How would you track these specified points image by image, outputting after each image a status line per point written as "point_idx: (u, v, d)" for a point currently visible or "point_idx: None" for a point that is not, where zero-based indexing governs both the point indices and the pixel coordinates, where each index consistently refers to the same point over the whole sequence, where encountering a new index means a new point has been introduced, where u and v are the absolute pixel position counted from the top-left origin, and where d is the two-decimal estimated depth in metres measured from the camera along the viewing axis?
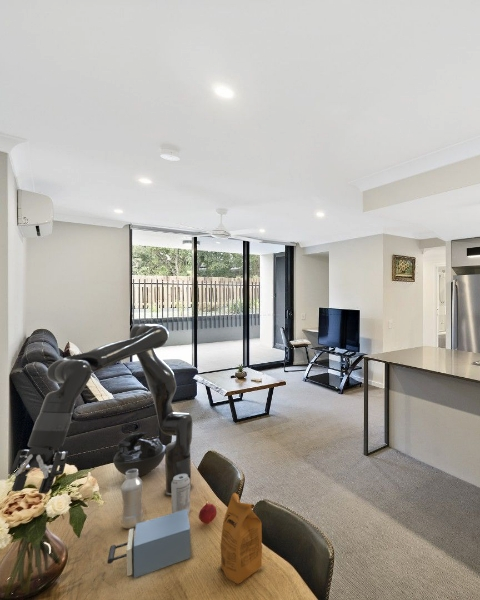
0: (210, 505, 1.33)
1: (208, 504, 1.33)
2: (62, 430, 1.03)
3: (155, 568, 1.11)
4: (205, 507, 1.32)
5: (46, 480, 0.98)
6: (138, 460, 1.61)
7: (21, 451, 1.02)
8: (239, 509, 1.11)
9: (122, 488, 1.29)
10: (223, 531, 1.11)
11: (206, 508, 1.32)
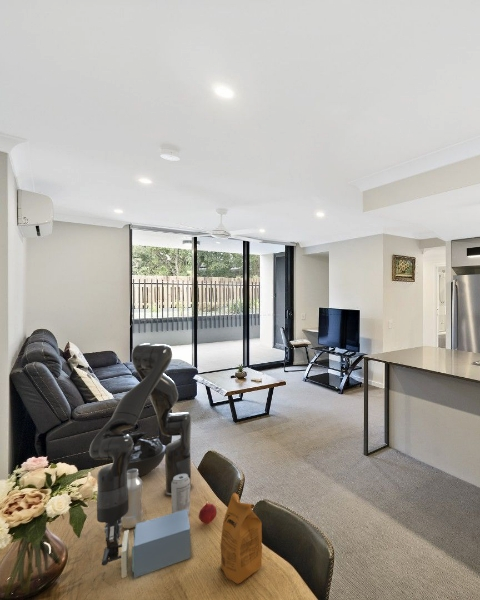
0: (210, 505, 1.33)
1: (208, 504, 1.33)
2: (112, 507, 1.07)
3: (155, 568, 1.11)
4: (205, 507, 1.32)
5: (110, 549, 1.09)
6: (138, 460, 1.61)
7: None
8: (239, 509, 1.11)
9: None
10: (223, 531, 1.11)
11: (206, 508, 1.32)
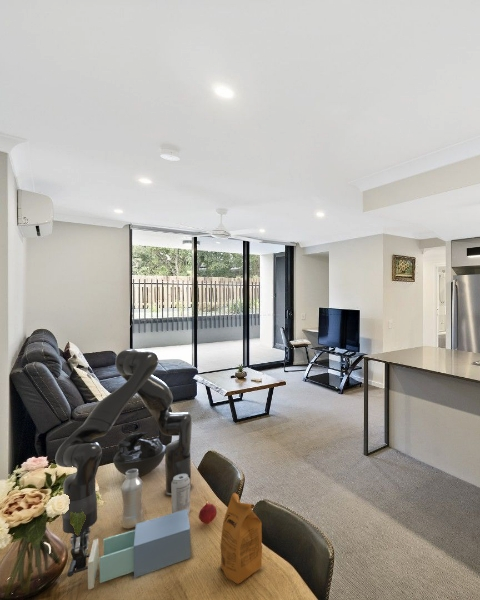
0: (210, 505, 1.33)
1: (208, 504, 1.33)
2: None
3: (155, 568, 1.11)
4: (205, 507, 1.32)
5: (77, 560, 1.05)
6: (138, 460, 1.61)
7: None
8: (239, 509, 1.11)
9: (122, 488, 1.29)
10: (223, 531, 1.11)
11: (206, 508, 1.32)
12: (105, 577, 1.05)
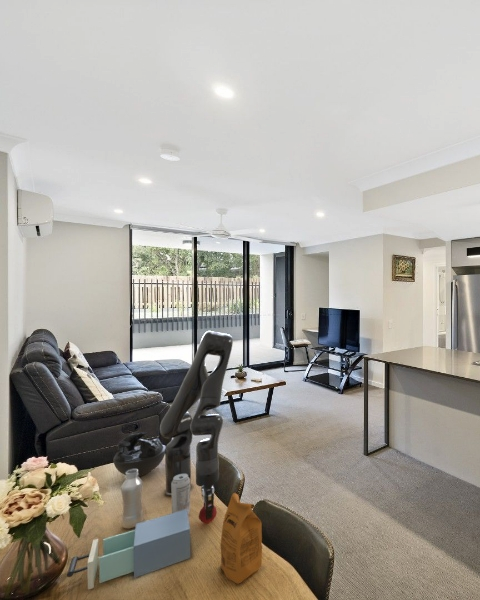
0: None
1: None
2: None
3: (155, 568, 1.11)
4: None
5: None
6: (138, 460, 1.61)
7: None
8: (239, 509, 1.11)
9: (122, 488, 1.29)
10: (223, 531, 1.11)
11: None
12: (105, 577, 1.05)
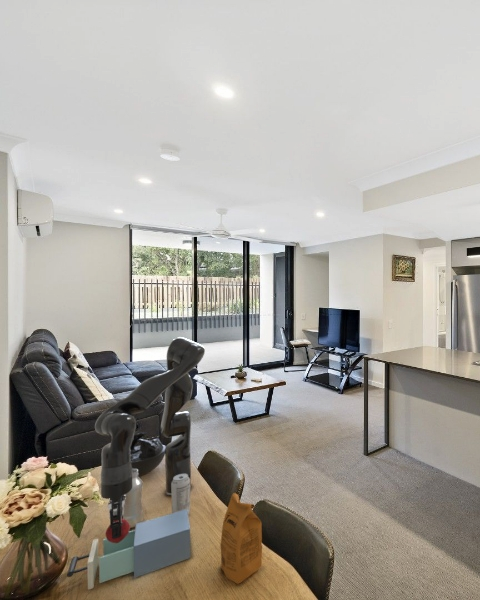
0: None
1: None
2: None
3: (155, 568, 1.11)
4: None
5: None
6: (138, 460, 1.61)
7: None
8: (239, 509, 1.11)
9: None
10: (223, 531, 1.11)
11: None
12: (105, 577, 1.05)
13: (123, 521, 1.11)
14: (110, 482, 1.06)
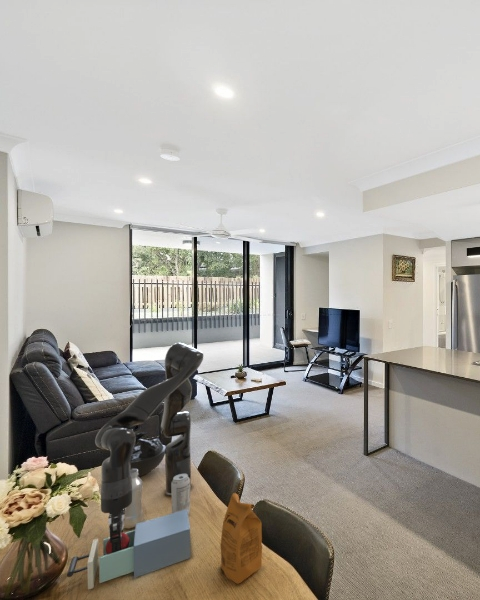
0: None
1: None
2: None
3: (155, 568, 1.11)
4: None
5: None
6: (138, 460, 1.61)
7: None
8: (239, 509, 1.11)
9: None
10: (223, 531, 1.11)
11: None
12: (105, 577, 1.05)
13: (123, 535, 1.11)
14: (110, 497, 1.07)
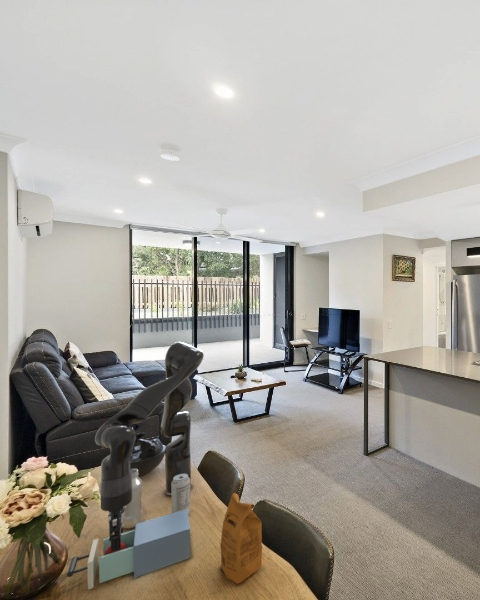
0: None
1: None
2: None
3: (155, 568, 1.11)
4: (110, 550, 1.08)
5: None
6: (138, 460, 1.61)
7: None
8: (239, 509, 1.11)
9: None
10: (223, 531, 1.11)
11: (111, 551, 1.07)
12: (105, 577, 1.05)
13: None
14: (110, 494, 1.06)
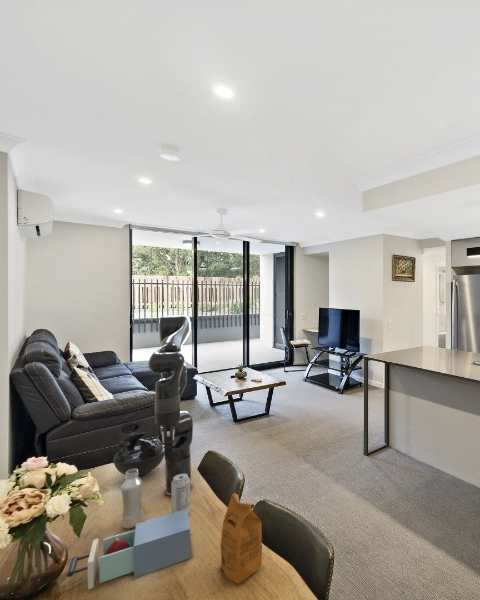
0: (120, 542, 1.11)
1: (118, 541, 1.10)
2: None
3: (155, 568, 1.11)
4: (113, 545, 1.09)
5: None
6: (138, 460, 1.61)
7: None
8: (239, 509, 1.11)
9: (122, 488, 1.29)
10: (223, 531, 1.11)
11: (114, 546, 1.09)
12: (105, 577, 1.05)
13: (123, 542, 1.11)
14: (163, 411, 1.24)
